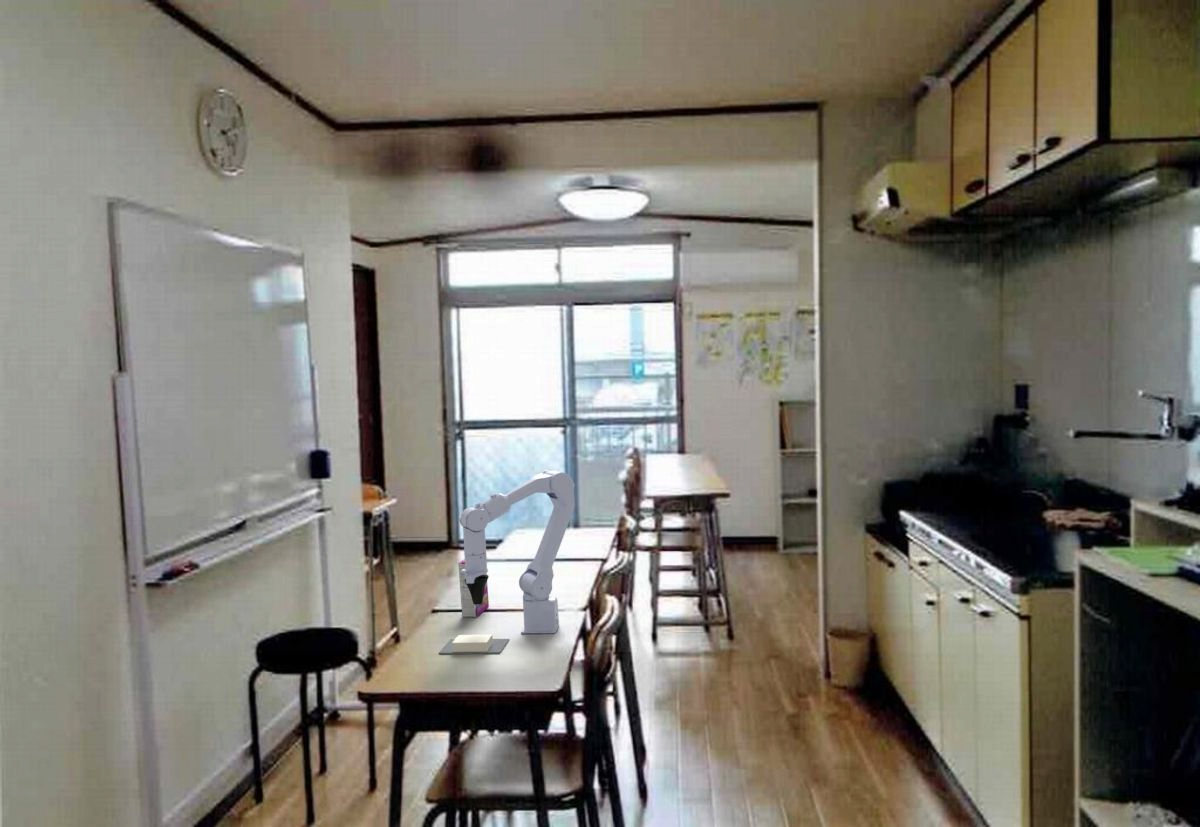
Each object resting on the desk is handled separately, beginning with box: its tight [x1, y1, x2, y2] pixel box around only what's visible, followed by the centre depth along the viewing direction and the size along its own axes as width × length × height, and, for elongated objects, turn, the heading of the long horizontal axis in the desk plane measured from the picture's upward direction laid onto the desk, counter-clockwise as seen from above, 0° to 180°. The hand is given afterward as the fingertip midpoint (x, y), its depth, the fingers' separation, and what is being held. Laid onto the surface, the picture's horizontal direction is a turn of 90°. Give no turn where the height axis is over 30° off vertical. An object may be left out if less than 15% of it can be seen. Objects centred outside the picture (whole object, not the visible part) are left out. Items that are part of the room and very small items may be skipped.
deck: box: [452, 634, 494, 652], centre depth 227 cm, size 9×2×6 cm
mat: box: [438, 638, 510, 655], centre depth 229 cm, size 16×11×1 cm
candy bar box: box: [458, 558, 490, 618], centre depth 262 cm, size 11×5×16 cm, turn 168°
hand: (477, 603), depth 234 cm, fingers closed
